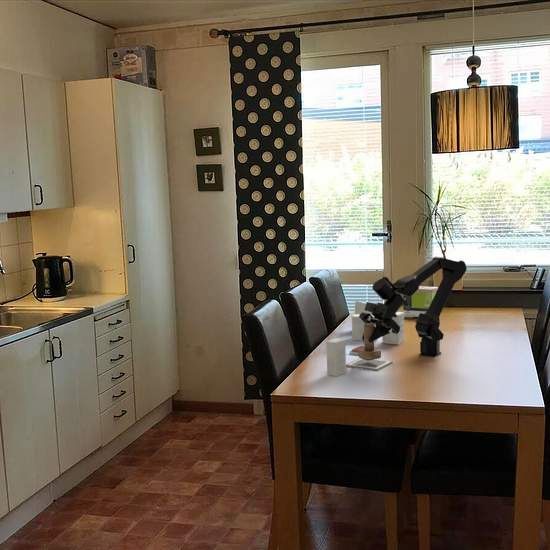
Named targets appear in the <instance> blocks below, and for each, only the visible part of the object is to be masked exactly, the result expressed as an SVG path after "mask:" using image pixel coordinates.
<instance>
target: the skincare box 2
mask: <svg viewBox="0 0 550 550" xmlns="http://www.w3.org/2000/svg"><path fill="white" fill-rule="evenodd" d="M359 315H360V314H355V313H354V314H353V315H352V316H351V335H352V336H351V341H352V342H353V341H355V342H356V341H358V342H359V341H361V342H364V340H362V337H363V334H364V324H365V323H364V322H363V321H362V320H361V319H360V318H359ZM372 317H373V318H374V316H373V315H372ZM375 328H376V326H375ZM377 341H378V339H376V340H375V341H374V342H377Z"/></svg>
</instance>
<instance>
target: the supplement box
mask: <svg viewBox="0 0 550 550" xmlns="http://www.w3.org/2000/svg"><path fill="white" fill-rule="evenodd" d="M396 315H397V317H396V318H395V317H393V318H392V319H393V320H394V321H395V322H396V323H397V324H398V325H399V326H400V331H399V333H398V334H394V333H392V329H391V330H390V331H389V332H390V334H387V335H384V336H382V337H381V338H382V344H389V345H398V346H399V345H401V344H402V343H403V341H405V317H404V311H397V312H396Z"/></svg>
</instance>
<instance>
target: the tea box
mask: <svg viewBox="0 0 550 550" xmlns="http://www.w3.org/2000/svg"><path fill="white" fill-rule="evenodd" d="M438 287H439V286H421V285H420V286H419V289H418V290H417V291H416V292H415V293H414V294H413V295H412V296H405V295H402V297H403V298H406V299H407V302H408V306H404V305H402V306H403V312H404V318H413V317H419V314H420V313H423V314H424V313H426V312H427V310H428V308H429V306H430V304H431V302H432V300H433V298H434V296H435V294H436V292H437V290H438Z"/></svg>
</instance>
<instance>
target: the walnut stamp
mask: <svg viewBox="0 0 550 550" xmlns="http://www.w3.org/2000/svg"><path fill="white" fill-rule="evenodd" d="M373 332H374V324H372V323H366V324H364V341H363V342H364V343H363V344H364V345H363V346H364V349H359V350H358V355H357V356H358V359H359V358H362V359H365V360H368V361H369V360H374V359H377V360H380V359H382V350H378V349H379V348H378V349H375V348H374V347H375V341H373V342H371V343H370V342H369V341H368V340H369V338H370V336H371V335H372V333H373Z"/></svg>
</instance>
